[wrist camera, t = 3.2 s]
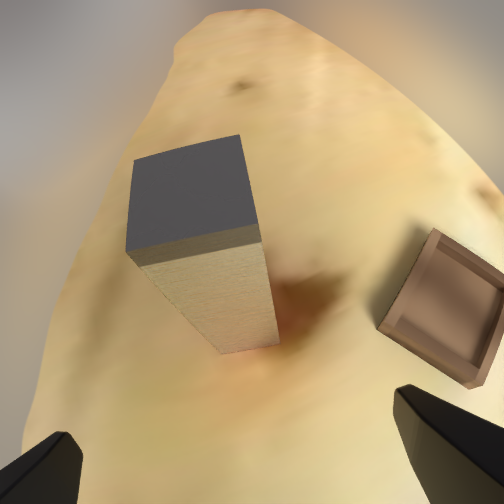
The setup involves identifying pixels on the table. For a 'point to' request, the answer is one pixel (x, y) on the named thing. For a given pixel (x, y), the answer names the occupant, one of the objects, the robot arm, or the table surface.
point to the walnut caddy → (450, 311)
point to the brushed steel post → (204, 241)
